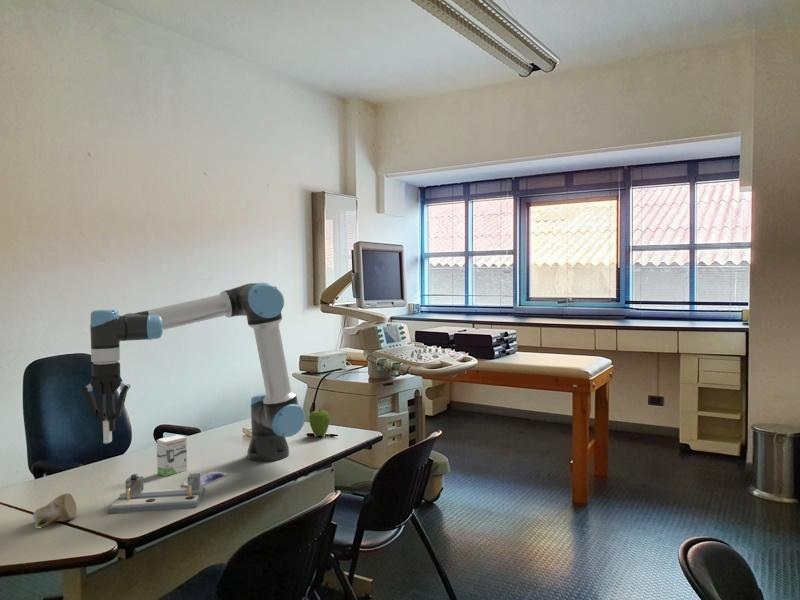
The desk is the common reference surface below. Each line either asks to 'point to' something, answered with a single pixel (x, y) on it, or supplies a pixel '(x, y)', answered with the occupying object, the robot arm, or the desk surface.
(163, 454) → the ink box
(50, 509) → the beige tapered chunky piece
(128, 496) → the sliding leg
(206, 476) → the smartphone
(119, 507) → the board
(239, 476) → the desk surface
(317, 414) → the apple
